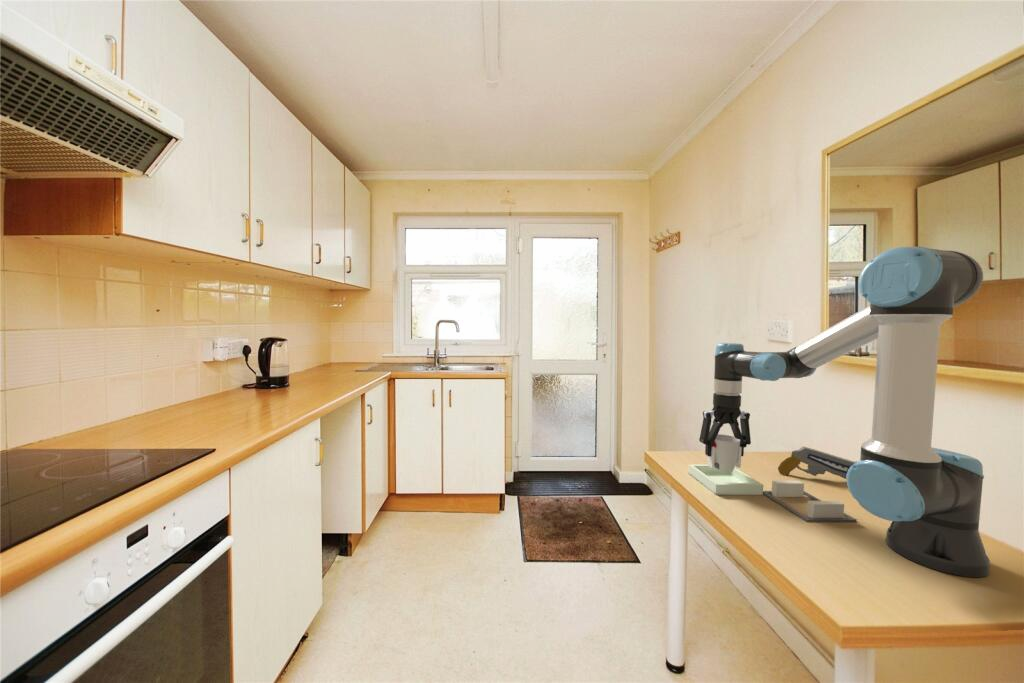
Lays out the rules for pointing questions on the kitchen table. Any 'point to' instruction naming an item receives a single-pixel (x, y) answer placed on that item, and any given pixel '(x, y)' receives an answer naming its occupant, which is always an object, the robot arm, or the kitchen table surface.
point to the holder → (809, 503)
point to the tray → (726, 481)
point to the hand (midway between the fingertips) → (723, 466)
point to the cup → (726, 453)
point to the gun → (815, 463)
